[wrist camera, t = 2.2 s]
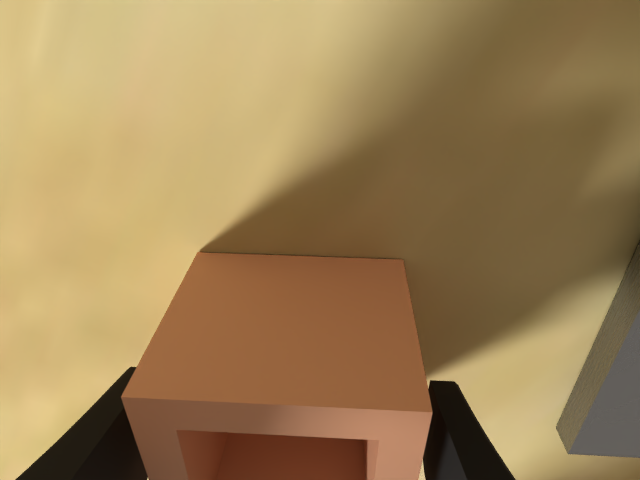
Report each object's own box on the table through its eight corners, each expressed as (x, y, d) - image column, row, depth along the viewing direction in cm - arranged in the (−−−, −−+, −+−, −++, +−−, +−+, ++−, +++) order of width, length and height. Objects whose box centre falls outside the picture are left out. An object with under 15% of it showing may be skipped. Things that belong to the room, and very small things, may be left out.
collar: (385, 398, 15) (400, 563, 11) (220, 390, 16) (172, 548, 11) (402, 259, 12) (432, 412, 8) (197, 252, 13) (120, 397, 8)
